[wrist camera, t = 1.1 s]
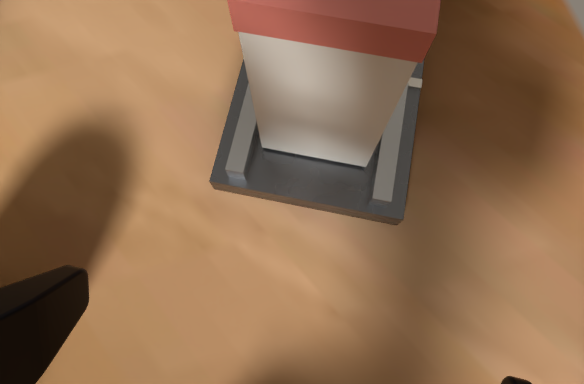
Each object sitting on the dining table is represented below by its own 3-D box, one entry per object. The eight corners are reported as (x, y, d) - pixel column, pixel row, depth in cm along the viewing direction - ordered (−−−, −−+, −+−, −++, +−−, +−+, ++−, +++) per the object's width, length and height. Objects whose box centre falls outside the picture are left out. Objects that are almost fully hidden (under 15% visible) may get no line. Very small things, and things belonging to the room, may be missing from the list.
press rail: (396, 225, 23) (419, 205, 19) (214, 189, 24) (196, 162, 20) (429, -20, 28) (454, -79, 24) (278, -43, 29) (275, -105, 25)
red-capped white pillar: (367, 169, 22) (436, 33, 11) (259, 148, 23) (226, -1, 12) (380, 88, 24) (453, -100, 13) (279, 70, 24) (265, -127, 13)
